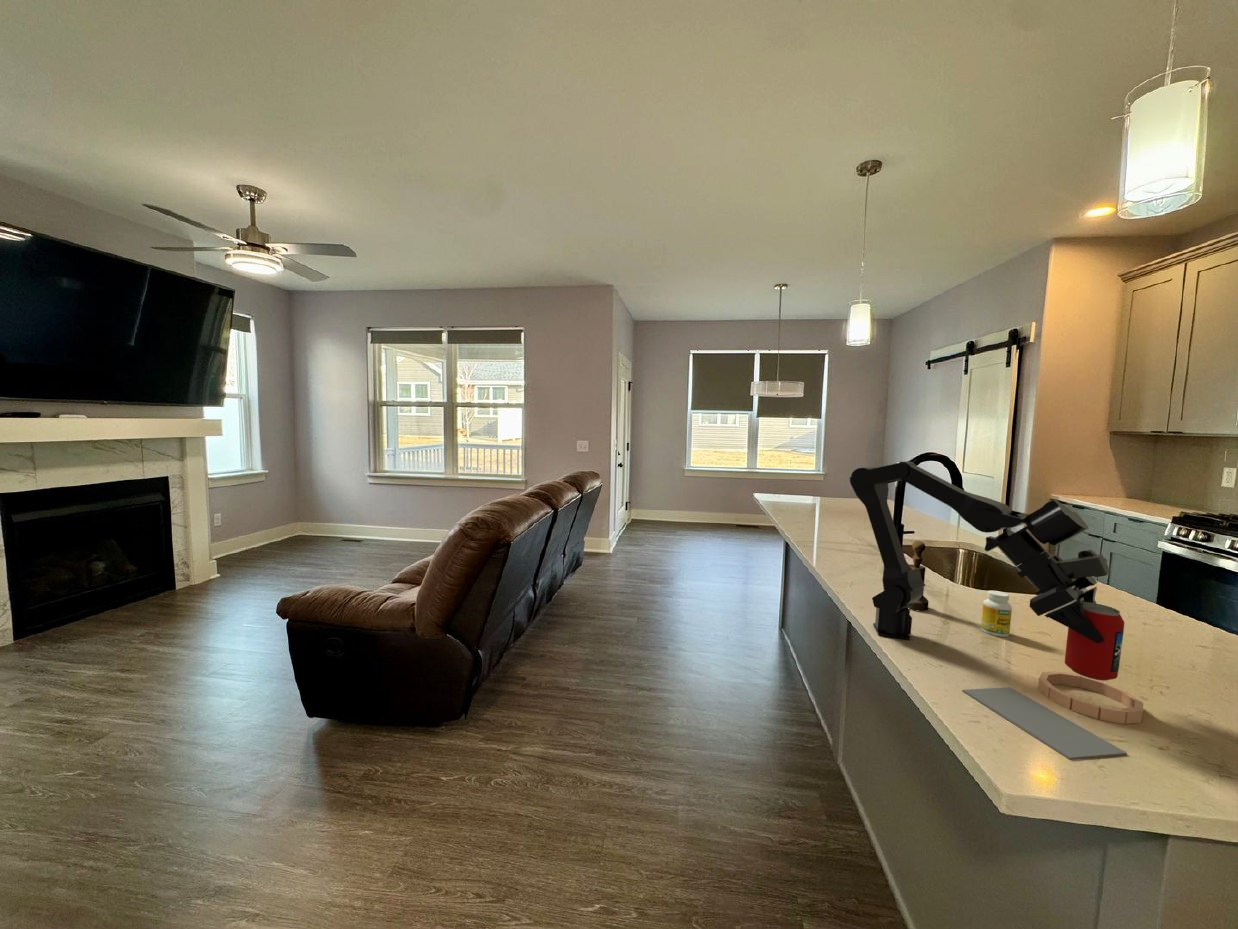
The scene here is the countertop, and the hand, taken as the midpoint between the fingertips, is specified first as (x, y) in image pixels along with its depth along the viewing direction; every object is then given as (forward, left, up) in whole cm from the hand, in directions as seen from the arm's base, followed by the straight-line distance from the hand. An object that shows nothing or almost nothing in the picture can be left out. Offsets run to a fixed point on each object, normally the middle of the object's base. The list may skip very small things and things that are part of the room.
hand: (1105, 637), depth 83 cm
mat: (-13, -10, -12) cm, 20 cm away
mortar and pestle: (-18, +42, -12) cm, 48 cm away
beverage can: (-1, +1, -7) cm, 7 cm away
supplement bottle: (-4, +30, -12) cm, 33 cm away
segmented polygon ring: (-1, +1, -12) cm, 12 cm away
